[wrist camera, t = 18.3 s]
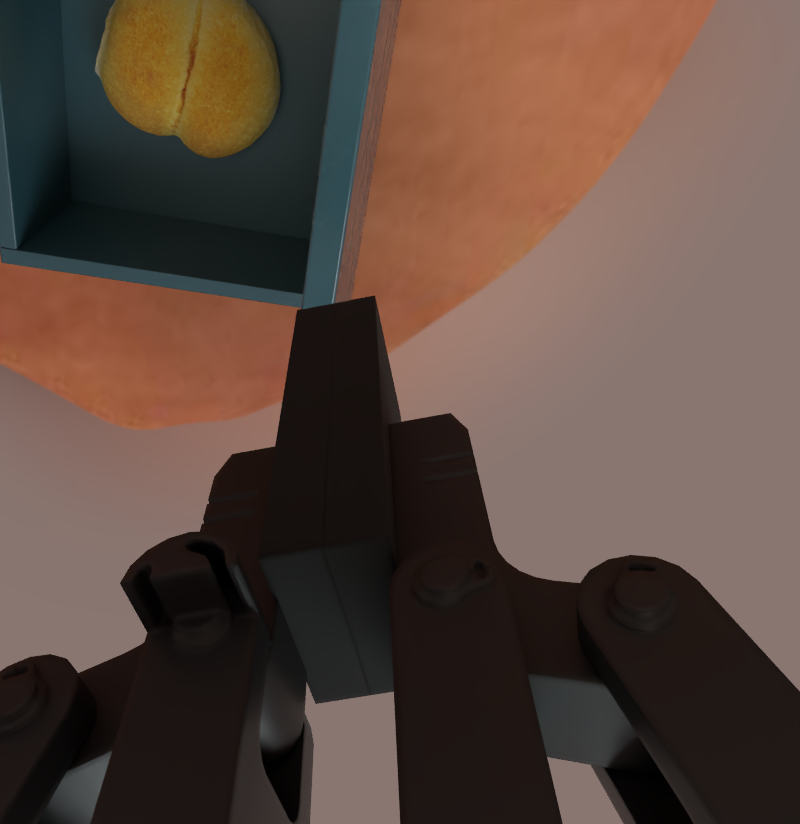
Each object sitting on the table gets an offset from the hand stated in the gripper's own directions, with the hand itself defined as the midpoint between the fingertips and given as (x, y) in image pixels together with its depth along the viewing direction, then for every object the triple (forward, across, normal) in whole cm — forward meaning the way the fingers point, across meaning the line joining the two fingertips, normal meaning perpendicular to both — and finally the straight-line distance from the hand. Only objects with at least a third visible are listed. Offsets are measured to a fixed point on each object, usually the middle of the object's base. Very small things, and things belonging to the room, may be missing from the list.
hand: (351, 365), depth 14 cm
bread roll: (+30, -8, +3) cm, 31 cm away
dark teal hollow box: (+31, -7, +3) cm, 32 cm away
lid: (+13, 0, 0) cm, 13 cm away
